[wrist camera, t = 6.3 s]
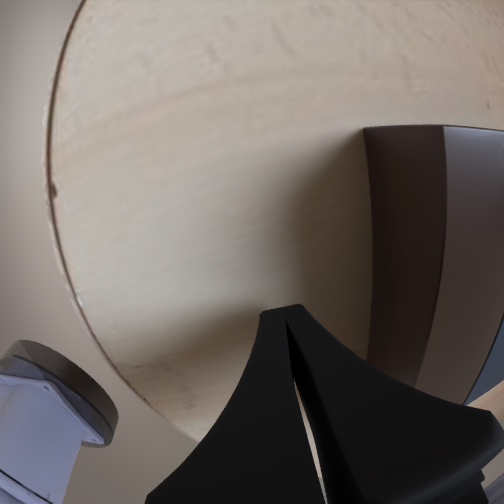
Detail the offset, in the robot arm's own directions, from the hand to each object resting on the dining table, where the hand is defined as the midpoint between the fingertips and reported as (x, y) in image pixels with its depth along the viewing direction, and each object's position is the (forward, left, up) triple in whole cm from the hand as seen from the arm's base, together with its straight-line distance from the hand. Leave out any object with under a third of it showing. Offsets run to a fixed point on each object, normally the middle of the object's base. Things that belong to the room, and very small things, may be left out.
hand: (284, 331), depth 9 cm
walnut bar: (+6, 0, -1) cm, 6 cm away
